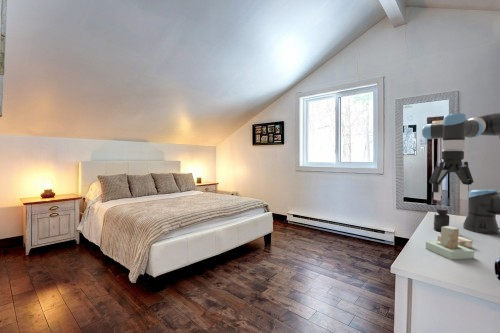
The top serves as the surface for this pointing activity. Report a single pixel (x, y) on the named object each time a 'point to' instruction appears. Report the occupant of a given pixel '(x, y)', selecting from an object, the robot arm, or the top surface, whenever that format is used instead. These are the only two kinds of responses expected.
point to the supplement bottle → (441, 219)
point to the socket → (450, 251)
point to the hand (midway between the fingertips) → (450, 199)
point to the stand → (461, 241)
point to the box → (449, 237)
